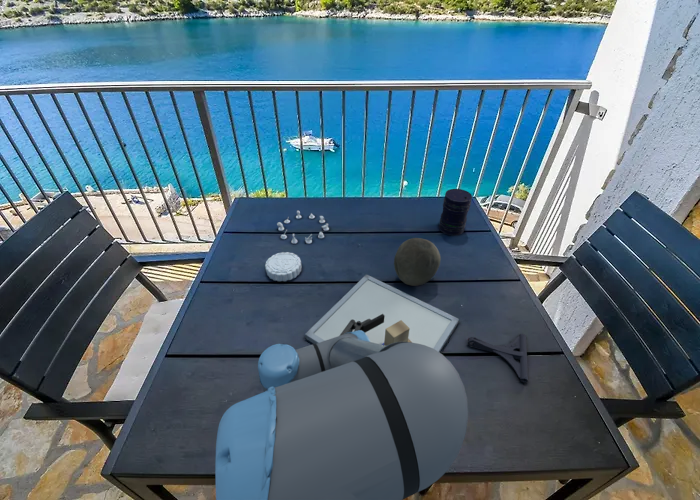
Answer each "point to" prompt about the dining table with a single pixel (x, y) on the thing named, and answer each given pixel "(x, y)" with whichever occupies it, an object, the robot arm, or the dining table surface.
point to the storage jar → (455, 211)
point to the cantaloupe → (416, 261)
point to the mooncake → (283, 266)
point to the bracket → (508, 353)
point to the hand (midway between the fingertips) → (400, 335)
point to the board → (395, 305)
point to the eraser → (397, 333)
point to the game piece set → (308, 240)
